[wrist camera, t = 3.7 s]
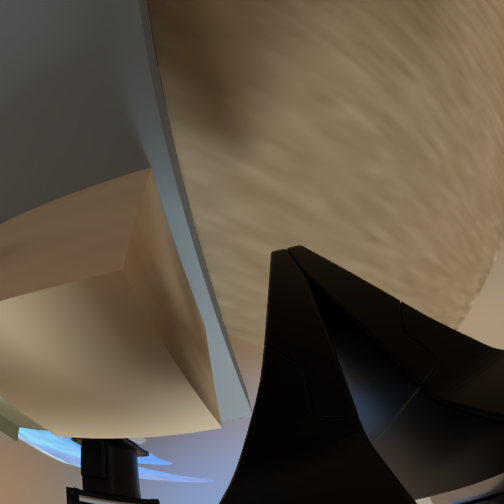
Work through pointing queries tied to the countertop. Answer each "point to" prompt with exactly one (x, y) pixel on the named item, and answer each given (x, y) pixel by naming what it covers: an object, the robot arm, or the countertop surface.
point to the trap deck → (96, 139)
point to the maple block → (102, 318)
